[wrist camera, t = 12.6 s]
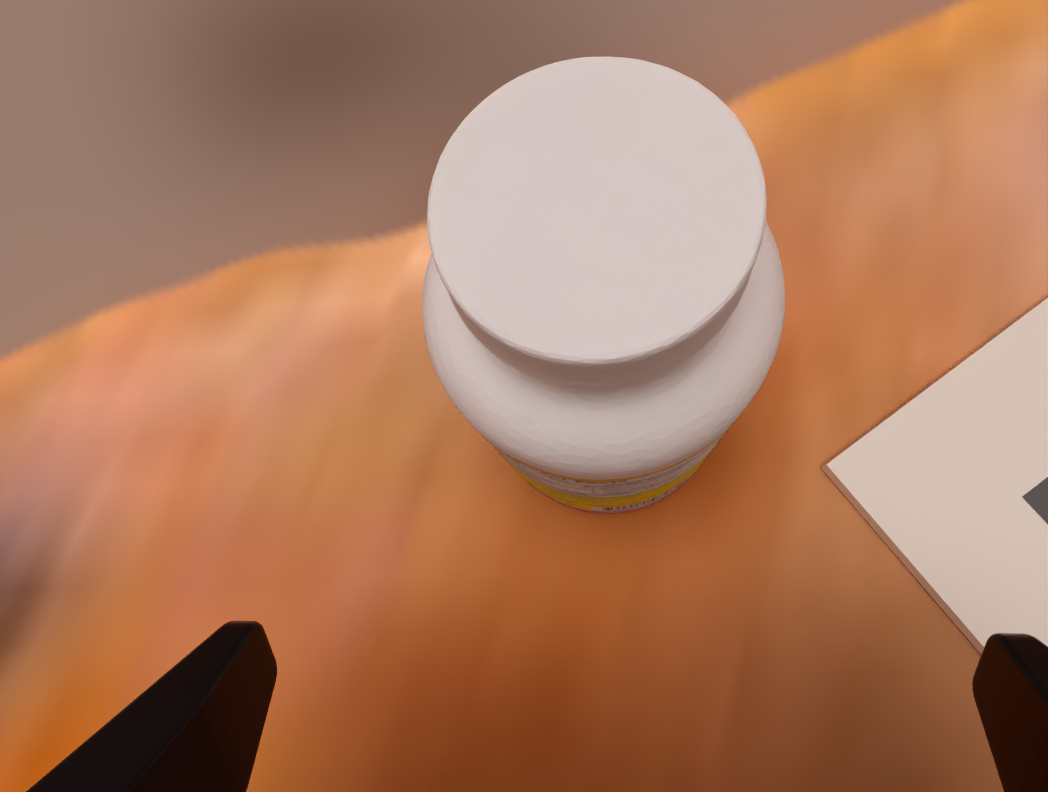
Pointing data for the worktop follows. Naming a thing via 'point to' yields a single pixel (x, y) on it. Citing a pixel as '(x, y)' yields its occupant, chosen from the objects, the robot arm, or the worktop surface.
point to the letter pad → (968, 484)
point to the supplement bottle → (601, 278)
